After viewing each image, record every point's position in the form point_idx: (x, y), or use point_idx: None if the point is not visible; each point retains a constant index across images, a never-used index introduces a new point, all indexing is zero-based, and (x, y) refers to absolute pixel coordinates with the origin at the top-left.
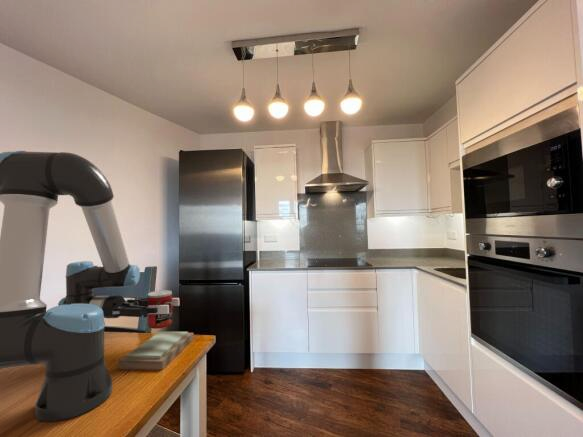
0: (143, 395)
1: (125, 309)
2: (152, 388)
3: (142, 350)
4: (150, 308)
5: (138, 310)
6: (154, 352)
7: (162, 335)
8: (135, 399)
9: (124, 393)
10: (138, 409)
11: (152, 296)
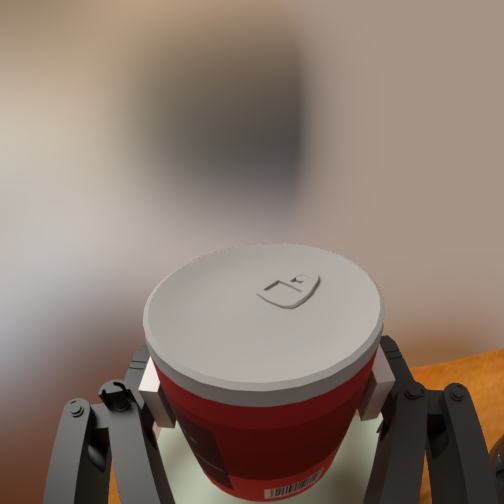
0: (472, 384)
1: (493, 500)
2: None
3: (358, 498)
4: (395, 367)
5: (465, 399)
6: (367, 445)
7: (189, 497)
8: (484, 387)
9: (484, 421)
10: (494, 364)
11: (383, 301)
